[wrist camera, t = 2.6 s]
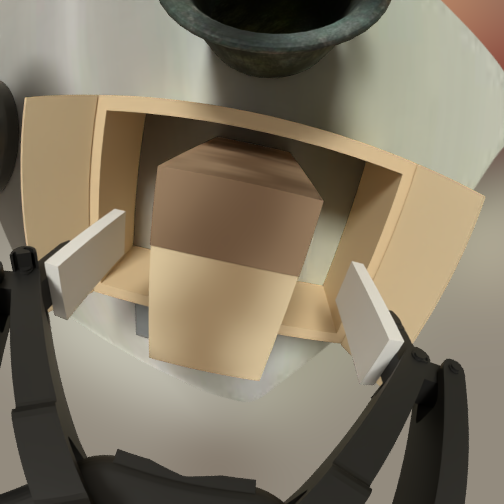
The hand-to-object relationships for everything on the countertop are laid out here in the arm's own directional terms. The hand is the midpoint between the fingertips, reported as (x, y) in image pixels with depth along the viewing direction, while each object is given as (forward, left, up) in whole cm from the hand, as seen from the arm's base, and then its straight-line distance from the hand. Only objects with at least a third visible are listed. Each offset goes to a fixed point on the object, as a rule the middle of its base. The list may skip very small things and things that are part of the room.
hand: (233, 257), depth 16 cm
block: (0, 0, -10) cm, 10 cm away
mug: (0, +17, -10) cm, 20 cm away
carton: (0, 0, -10) cm, 10 cm away
